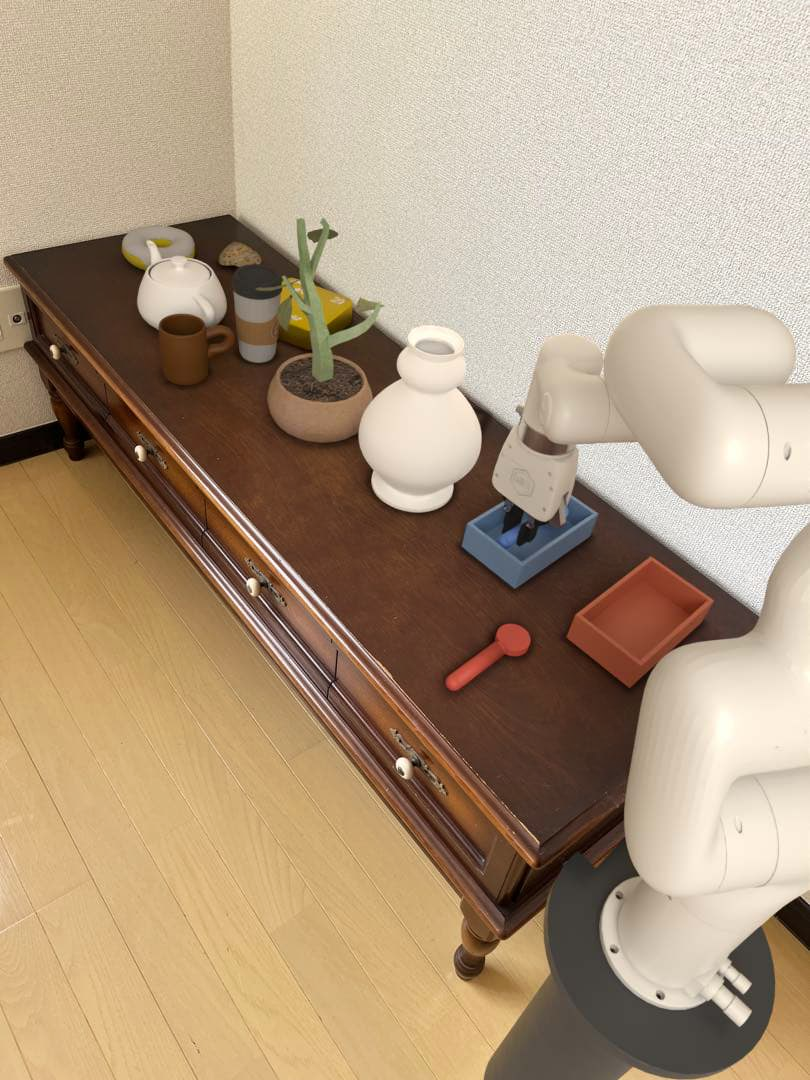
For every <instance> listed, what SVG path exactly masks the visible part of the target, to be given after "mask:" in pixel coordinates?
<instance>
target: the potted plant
mask: <svg viewBox="0 0 810 1080" xmlns="http://www.w3.org/2000/svg"><path fill="white" fill-rule="evenodd" d="M319 224H321V226H322V228H318V229H312V230H311V231H308V232H307V228H306V219H304V218H302V217H301V218H296V237H297V238H296V239H297V240H296V241H297V249H298V256H299V266H298V269H299V271H298V272H299V280H300V282H301V285H302V290H303V295H304V300H303V299H302V297H301V296H300V295H299V294H298V293H297V292H296V291H295V289H294V288H293V286H292V284H293V283H295V282H297V281H299V280H297V281H293V282H289V280H288V277H287V276H286V275H283V276H281V279H282V281H284V282H285V284H284V285H280V286H277V287H269V288H260V287H257V288H256V290H259V291H272V290H275V289H279V288H282V287H285V286H287V288H288V290H289V291H290V293H291V295H290V296H289V297H288V298H287V299H285V300H284V301H283V302H282V303H281V304H280V306H279V308H278V310H277V318H278V322H279V323H280V325H281V327H282V328H283V329H284V330H285V331H286V332H287V334H288V326H289V323H290V319H291V316H292V301H291V299H292V297H293V298H294V300H295V302H296V303H297V305H298V306H299V308H300V309H301V311H302V312H303V313H304V314H305V315H306V317H307V319H308V321H309V326H310V339H311V345H312V350H311V353H310V352H309V353H304V354H298V355H295V356H293V357H290V358H288V359H287V360H285V361H284V362H283V363H281V364H280V365H279V367H278V368H277V370H276V371H275V374H274V375H273V378H272V379H271V381H270V383H269V386H268V391H267V396H266V400H267V406H268V410H269V414H270V416H271V417H272V419H273V421H274V422H275V423H276V425H277V426H278V427H279V428H280V429H281V430H282V431H284V432H285V433H287V434H288V435H290V436H292V437H294V438H296V439H299V440H303V441H306V442H310V443H322V444H323V443H324V444H325V443H335V442H339V441H344V440H347V439H348V438H349V439H350V438H351V437H353V436H355V435H356V434H357V435H358V434H359V426H360V422H361V419H362V416H363V414H364V412H365V410H366V408H367V407H368V405H369V404H370V403H371V401H372V400H373V399H374V397H373V392H372V389H371V386H370V383H369V381H368V378H367V376H366V374H365V371H364V370H363V369H362V368H361V367H360V366H359V365H358V364H356V363H355V362H353V361H352V360H349V359H347V358H345V357H343V356H339V355H335V354H333V351H332V349H331V348H333V347H335V346H337V345H339V344H342V343H345V342H348V341H350V340H353V339H356V338H357V337H359V336H361V335H362V334H364V333H366V332H367V331H368V330H369V329H370V328H371V327H372V325H374V324H375V322H376V320H377V317H378V316H379V313H380V310H381V308H384V307H385V306H386V305H384V304H382V302H381V301H372V300H371V301H370V300H368V299H365V298H362V297H359V299H358V301H357V303H356V307H355V310H354V312H355V313H364V312H368V311H373V312H372V313H370V315H369V316H368V317H367V318H366V319H365V320H363V321H362V322H360V323H358V324H356V325H354V326H352V327H350V328H347V329H346V328H345V329H343V330H342V331H340V332H337V333H335V334H333V335H329V331H328V328H327V325H326V322H325V318H324V315H323V312H322V303H321V300H320V298H319V296H318V294H317V291H316V288H315V286H316V285H315V282H314V278H315V274H316V271H317V269H318V266H319V263H320V260H321V258H322V254H323V252H324V248H325V246H326V243H327V240H333V239H335V238H337V237H339V233H338V232H337V231H336V230H333V229H331V228H330V224H329V223H328V221H327V220H326V218H324V217H322V218H321V220H320V222H319ZM308 240H310V241H312V243H313V244H315V243H317V244H316V246H315V249H314V252H313V253H312V256H310V251H309V246H308Z"/></svg>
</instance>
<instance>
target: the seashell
mask: <svg viewBox="0 0 810 1080" xmlns="http://www.w3.org/2000/svg"><path fill="white" fill-rule="evenodd" d="M262 261H263V259H262V257H261V256H260V254H259V253H258V252H257V251H256V250H254V249H252V248H251V247H250V246H248V245H246V244H244V243H242V242H239V241H232V242H231V243H229V244H228V245H227V246H226V247H225V248H224V249H223V250H222V252H221V253H220V254H219V256H218V264H220V265H221V266H228V267H229V266H230V267H231V266H235V267H237V268H239V267H241V266H244V265H250V264H260V265H261V264H262Z"/></svg>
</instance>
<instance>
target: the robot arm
mask: <svg viewBox="0 0 810 1080" xmlns="http://www.w3.org/2000/svg"><path fill="white" fill-rule="evenodd" d="M536 358H537V359H536V362H535V366H534V370H533V373H532V376H531V380H530V383H529V384H530V385H529V387H528V391H527V395H526V399H525V401H524V402H525V403H522V402H520V403H519V404H518V405H517V406H516V407H515V413H517V414H518V416H519V417H520V419H519V422H518V423H516V424H515V425H514V426H512V428H511V430H510V432H509V434H508V435H507V437H506V439H505V441H504V443H503V445H502V448H501V450H500V453H499V455H498V457H497V461H496V463H495V467H494V469H493V473H492V476H491V483H492V486H493V487H494V489H495V490H496V491H497V492H499V493H500V494H501V497H502V499H503V501H504V502H505V503H504V509H505V511H506V514H505V518H504V521H503V524H504V526H503V530H502V534H504V533H505V532H507V531H508V530H510V529H512V528H513V527H515V526H516V525H518V524H519V523H521V520H522V517H523V513H524V511H525V512H527V513H528V517H527V520H526V522H524V523H523V524H522V525H521V527H520V531H519V534H518V537H517V542H516V545H518V546H519V547H520V546H522V545H523V544H525V543H526V542H528V543H530V542H531V541H533V540H534V538H535V536H536V533H537V530H538V527H539V526H543V525H546V524H547V525H549V526H551V527H555V528H561V527H562V526H564V525H565V524H566V515H565V509H566V507H567V505H568V503H569V500H570V497H571V495H572V493H573V490H574V486H575V482H576V478H577V471H578V465H579V452H580V451H579V449H578V447H577V445H595V444H617V443H618V444H620V443H638V444H639V446H640V448H642V450H643V452H644V453H645V454H646V456H647V458H648V459H649V460H650V461H651V463H652V465H653V466H654V468H655V469H656V471H657V472H658V473H659V475H660V476H661V477H662V480H663V481H664V482H665V483H666V484H667V486H668V487H669V488H670V489H671V490H672V492H674V494H675V495H677V496H678V497H679V498H680V499H682V500H684V501H685V502H687V503H688V504H691V505H693V506H695V507H699V508H702V509H709V510H736V509H737V510H738V509H754V508H755V509H756V508H772V507H774V508H777V507H789V506H791V507H792V506H803V505H810V382H800V383H799V382H797V383H787V382H788V381H789V379H790V377H791V375H792V373H793V371H794V368H795V365H796V360H797V349H796V343H795V340H794V337H793V334H792V333H791V331H790V330H789V328H788V327H787V326H786V324H785V323H784V322H783V321H782V320H780V318H779V317H777V316H776V315H774V314H772V313H771V312H769V311H767V310H765V309H762V308H759V307H755V306H750V305H744V304H743V305H742V304H690V303H689V304H688V303H679V304H677V303H676V304H675V303H659V304H650V305H646V306H642V307H639V308H637V309H636V310H634V311H631V312H630V313H628V314H627V315H626V316H625V317H624V318H623V319H621V320H620V322H619V323H618V324H617V325H616V327H614V329H613V331H612V333H611V334H610V336H609V339H608V341H607V344H606V347H605V351H604V354H603V352H602V350H601V348H600V346H598V345H597V343H595V342H594V341H592V340H591V339H589V338H587V337H585V336H582V335H579V334H575V333H557V334H553V335H552V336H549V337H548V338H547V339H546V340H545V341H544V342H543V343H542V345H541V346H540V348H539V351H538V355H537V357H536ZM602 370H603V374H601V373H602ZM777 559H778V560H777V561H776V562H775V564H774V566H773V569H772V570H771V573H770V575H769V577H768V580H767V583H766V588H765V595H764V599H763V604H762V607H761V610H760V614H759V617H758V620H757V622H756V624H755V626H754V627H753V629H752V630H751V631H749V632H747V633H746V634H745V635H742V636H739V637H733V638H723V639H722V638H721V639H714V640H705V641H697V642H692V643H688V644H683V645H681V646H679V647H676V648H673V649H672V650H671V651H670V652H669V653H667V654H666V655H665V656H664V657H663V658H662V659H661V660H660V661H659V662H658V663H656V664H655V665H654V667H653V669H652V671H651V672H650V674H649V676H648V678H647V681H646V684H645V686H644V690H643V695H642V698H641V699H642V700H641V703H640V710H639V715H638V721H637V725H636V726H637V727H636V733H635V738H634V744H633V749H632V755H631V760H630V761H631V762H630V767H629V773H628V779H627V785H626V789H625V790H626V791H625V798H624V807H623V808H624V809H623V828H624V837H625V838H626V844H627V848H628V852H629V855H630V858H631V860H632V863H633V865H634V867H635V869H636V870H637V872H638V874H639V875H640V876H638V877H633V878H630V879H628V880H626V881H624V882H622V883H621V884H619V885H618V886H617V887H616V888H615V889H614V890H613V891H612V892H611V893H610V895H609V896H608V898H607V899H606V901H605V903H604V905H603V908H602V911H601V914H600V922H599V932H600V940H601V944H602V948H603V952H604V954H605V956H606V959H607V961H608V963H609V965H610V967H611V968H612V970H613V971H614V973H615V975H616V976H617V977H618V978H619V979H620V981H621V982H622V983H623V984H624V985H625V986H626V987H627V988H628V989H629V990H630V991H631V992H633V993H634V994H635V995H636V996H638V997H639V998H641V999H643V1000H644V1001H646V1002H647V1003H650V1004H652V1005H655V1006H657V1007H660V1008H664V1009H669V1010H686V1009H690V1008H694V1007H696V1006H698V1005H700V1004H702V1003H704V1002H705V1001H706V1000H707V1001H709V1000H710V999H712V1000H713V1001H714V1002H715V1003H716V1004H717V1005H718V1006H719V1007H720V1008H721V1009H722V1010H723V1012H724V1013H725V1014H726V1015H727V1016H728V1017H729V1018H730V1019H731V1020H732V1021H733V1022H734V1023H735V1024H736V1025H738V1026H739V1027H740V1026H741V1025H742V1024H743V1023H744V1022H745V1021H746V1020H747V1019H748V1017H749V1016H750V1014H751V1012H752V1010H751V1009H750V1008H749V1007H747V1006H746V1005H745V1004H744V1003H743V1002H742V1001H741V1000H740V999H739V998H738V997H737V996H736V995H735V996H734V995H733V994H732V993H731V992H730V991H729V990H728V989H727V988H726V987H725V986H724V985H723V983H724V980H723V978H724V976H725V977H726V978H727V979H728V980H729V981H730V982H731V983H732V985H733V986H734V987H735V988H736V989H737V990H738V991H739V992H741V993H742V994H744V993H745V992H746V991H747V990H748V989H749V987H750V986H751V984H752V983H751V982H750V981H749V980H748V979H747V978H746V977H745V976H744V975H742V974H741V973H739V972H738V971H737V970H736V969H735V968H734V967H733V966H732V965H731V962H732V961H730V960H729V959H728V958H727V957H728V956H729V954H730V953H731V952H732V951H733V950H734V949H735V948H736V947H737V946H739V945H740V944H741V943H742V942H743V941H744V940H745V939H746V938H747V937H748V936H749V935H751V934H752V933H753V932H754V931H755V930H756V929H757V928H758V927H760V926H762V925H764V924H765V923H766V922H767V921H769V919H770V918H772V917H773V916H774V915H775V914H776V913H777V912H778V911H780V910H781V909H782V908H783V907H785V906H786V905H788V904H790V902H792V901H794V900H796V899H797V898H799V897H801V896H802V895H804V894H805V893H807V892H809V891H810V521H808V523H807V524H806V525H805V526H804V527H803V528H802V529H801V530H800V531H798V533H797V534H796V535H794V537H793V538H792V539H791V540H790V542H789V544H788V545H787V546H786V548H785V549H784V550H783V552H782V553H781V554H780V556H779V557H778V558H777ZM616 897H618V898H619V899H617V898H616ZM611 950H613V952H614V953H612V952H611ZM656 995H658V996H659V998H660V999H658V998H657V996H656Z"/></svg>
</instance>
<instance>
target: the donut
mask: <svg viewBox="0 0 810 1080" xmlns="http://www.w3.org/2000/svg"><path fill="white" fill-rule="evenodd" d="M148 240H150V241H152V242H154V243H155V245H156V246H157V248H158V250H159V253H160V255H161V257H162V259H166V258H172V257H174V256H184V257H186V258H191V259H195V255H196V254H195V253H196V248H195V246H196V245H195V241H194V239H193V236H192V235H190V234H189V233H188V232H186V231H185V230H182V229H179V228H176V227H172V226H168V225H147V226H146V225H145V226H140V227H138V228H135V229H133V230H131V231H130V232H128V233H127V234H126V235H124V237H123V240H122V242H121V244H122V245H121V252H122V255H123V257H124V258H125V259H126V260H127V262H128V263H130V264H131V265H132V266H134V267H136V268H137V269H139V270H142V271H144V272H146V270H147V268H148V267H149V266H150V265H151V257H150V251H149V248H148V246H147V243H146V241H148Z"/></svg>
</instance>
